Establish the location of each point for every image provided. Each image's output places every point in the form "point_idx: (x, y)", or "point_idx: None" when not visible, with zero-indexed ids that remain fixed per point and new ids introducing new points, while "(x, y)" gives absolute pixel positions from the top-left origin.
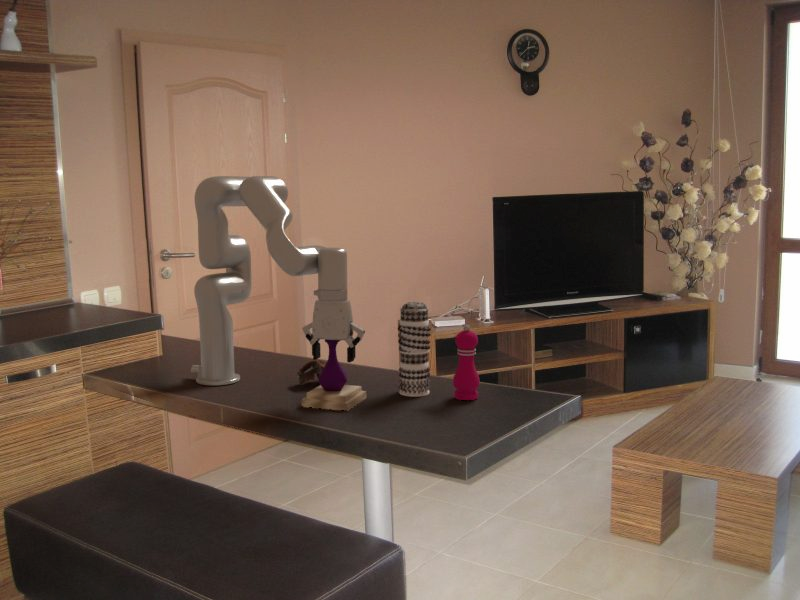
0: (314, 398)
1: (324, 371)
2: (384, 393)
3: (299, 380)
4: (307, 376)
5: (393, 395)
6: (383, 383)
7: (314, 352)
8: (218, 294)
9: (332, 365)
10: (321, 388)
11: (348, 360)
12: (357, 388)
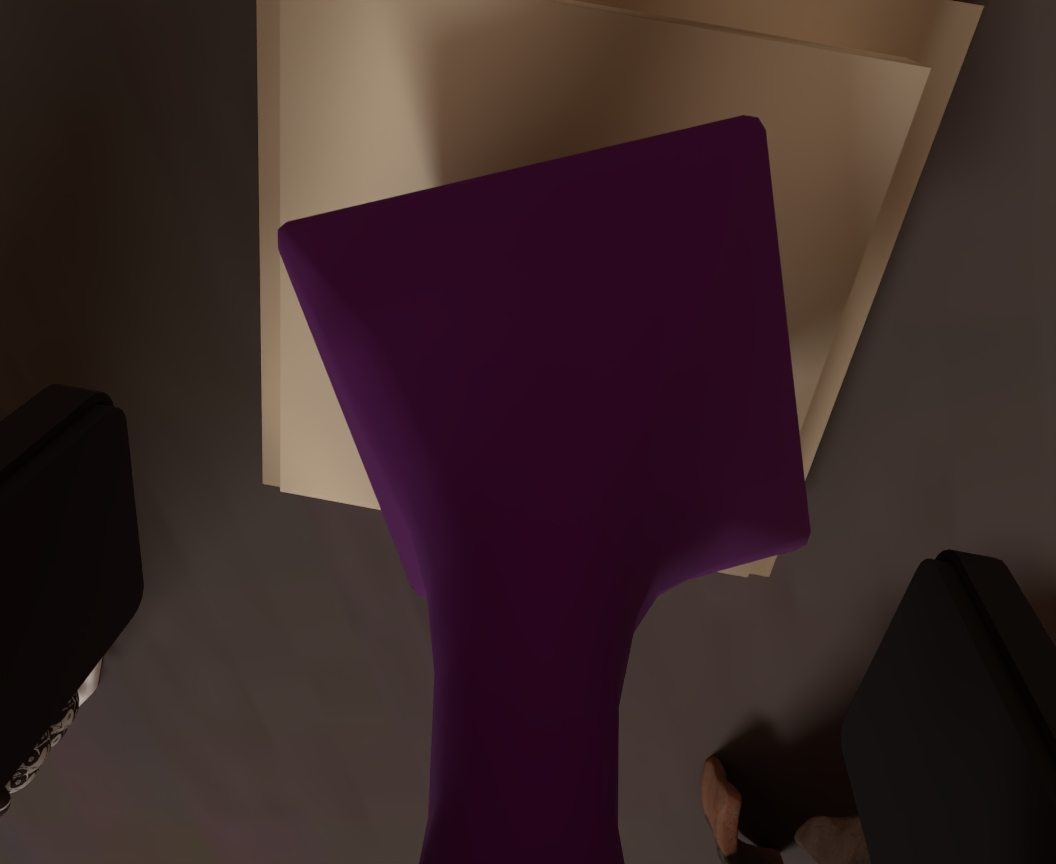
0: (785, 35)
1: (665, 275)
2: (198, 596)
3: None
4: None
5: None
6: (318, 826)
7: (1033, 674)
8: None
9: (507, 407)
10: None
11: (60, 400)
12: (286, 394)
